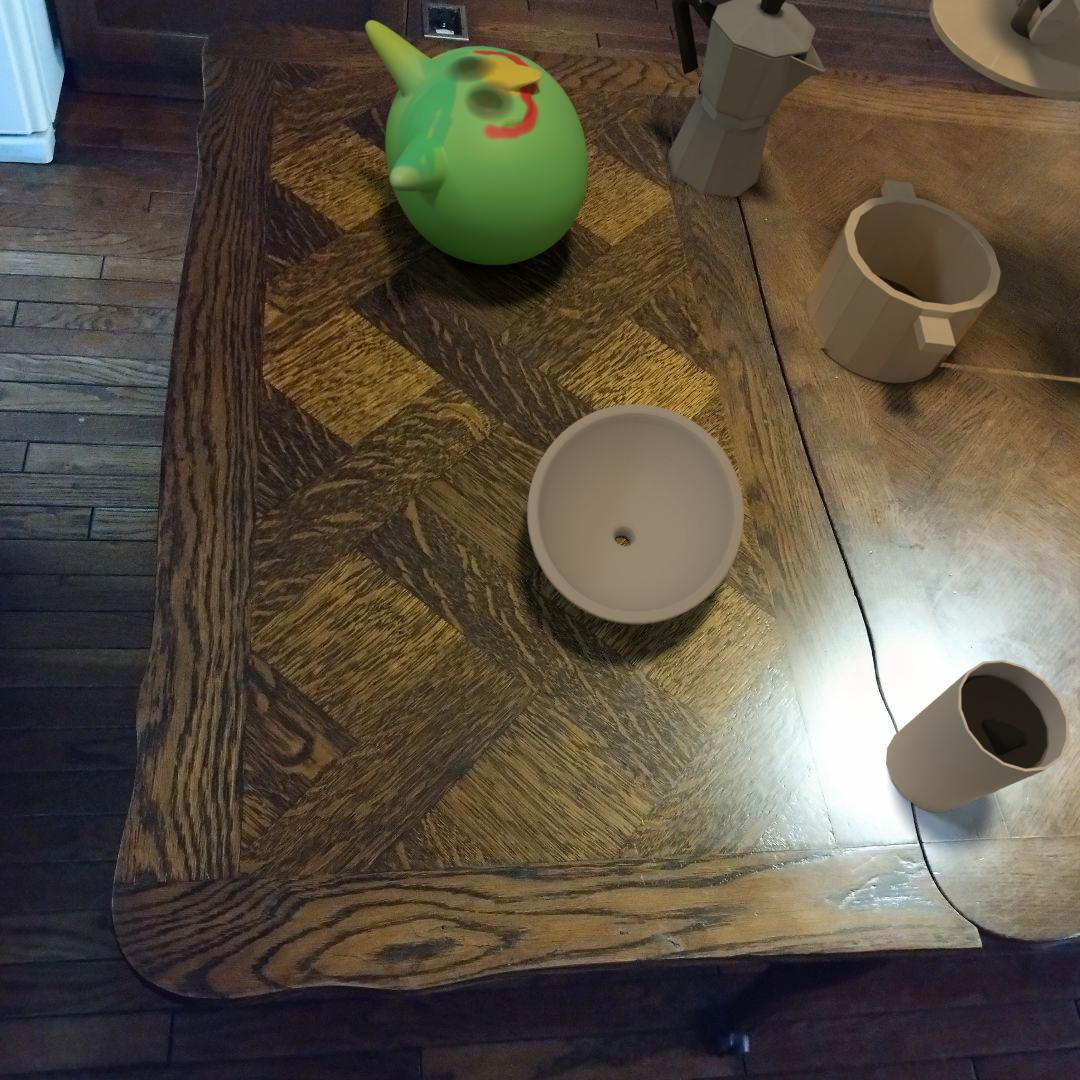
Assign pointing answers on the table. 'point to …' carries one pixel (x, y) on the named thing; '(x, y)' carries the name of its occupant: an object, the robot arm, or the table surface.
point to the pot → (914, 262)
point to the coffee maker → (737, 87)
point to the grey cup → (979, 737)
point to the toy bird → (481, 150)
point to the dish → (635, 514)
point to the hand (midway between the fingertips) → (1031, 22)
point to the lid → (1010, 45)
